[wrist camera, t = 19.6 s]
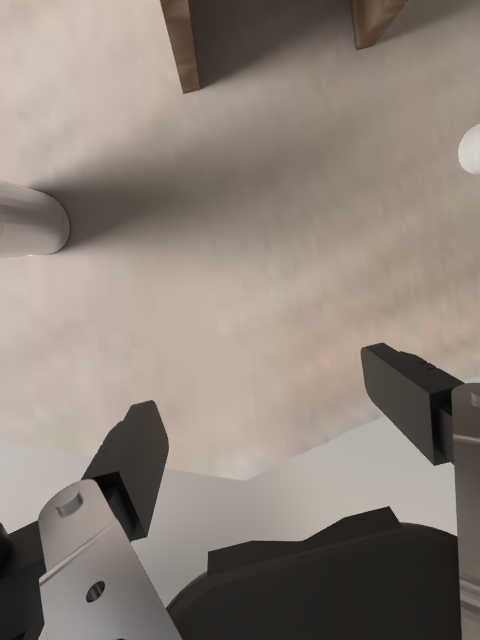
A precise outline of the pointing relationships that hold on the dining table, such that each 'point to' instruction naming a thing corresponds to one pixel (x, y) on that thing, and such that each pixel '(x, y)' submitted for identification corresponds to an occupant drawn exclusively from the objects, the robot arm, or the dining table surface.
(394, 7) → the stand
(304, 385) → the dining table surface
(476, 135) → the cylindrical container
